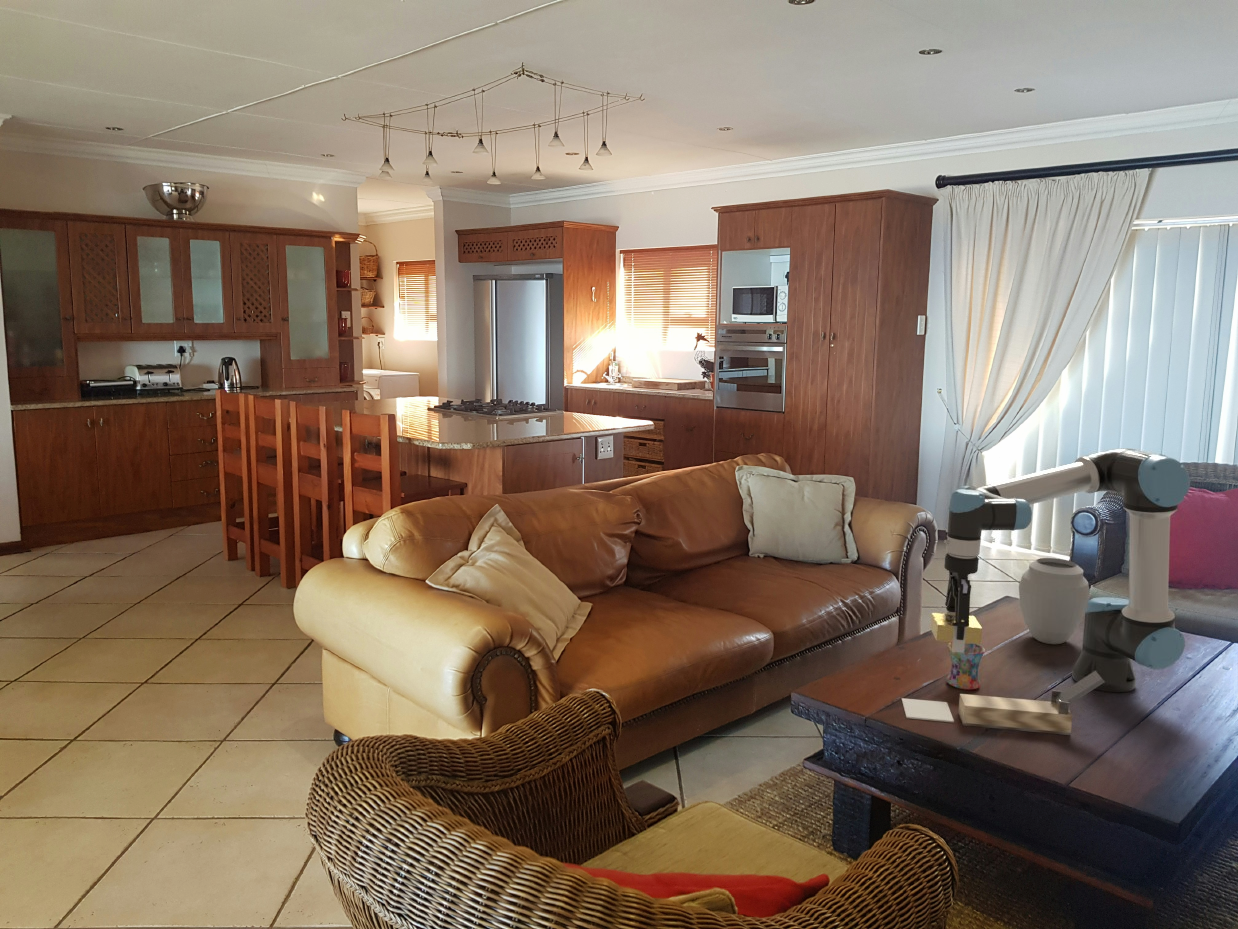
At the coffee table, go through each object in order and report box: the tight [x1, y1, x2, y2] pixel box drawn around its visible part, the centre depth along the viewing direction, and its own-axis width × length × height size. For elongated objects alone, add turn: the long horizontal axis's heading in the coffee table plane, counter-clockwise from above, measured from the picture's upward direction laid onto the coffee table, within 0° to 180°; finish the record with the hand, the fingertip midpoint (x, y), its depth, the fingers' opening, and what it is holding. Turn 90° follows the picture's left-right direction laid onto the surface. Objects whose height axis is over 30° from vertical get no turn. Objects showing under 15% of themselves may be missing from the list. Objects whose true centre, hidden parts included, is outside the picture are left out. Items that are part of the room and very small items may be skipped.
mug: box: [946, 642, 986, 690], centre depth 243 cm, size 12×9×11 cm
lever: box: [1054, 671, 1105, 706], centre depth 216 cm, size 1×5×12 cm
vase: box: [1018, 557, 1091, 645], centre depth 276 cm, size 20×20×24 cm
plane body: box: [957, 689, 1073, 736], centre depth 220 cm, size 24×7×8 cm, turn 79°
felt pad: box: [901, 697, 955, 723], centre depth 227 cm, size 11×11×1 cm
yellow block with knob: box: [929, 612, 983, 645], centre depth 221 cm, size 10×9×5 cm
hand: (953, 644), depth 222 cm, fingers closed on yellow block with knob, 9 cm apart
